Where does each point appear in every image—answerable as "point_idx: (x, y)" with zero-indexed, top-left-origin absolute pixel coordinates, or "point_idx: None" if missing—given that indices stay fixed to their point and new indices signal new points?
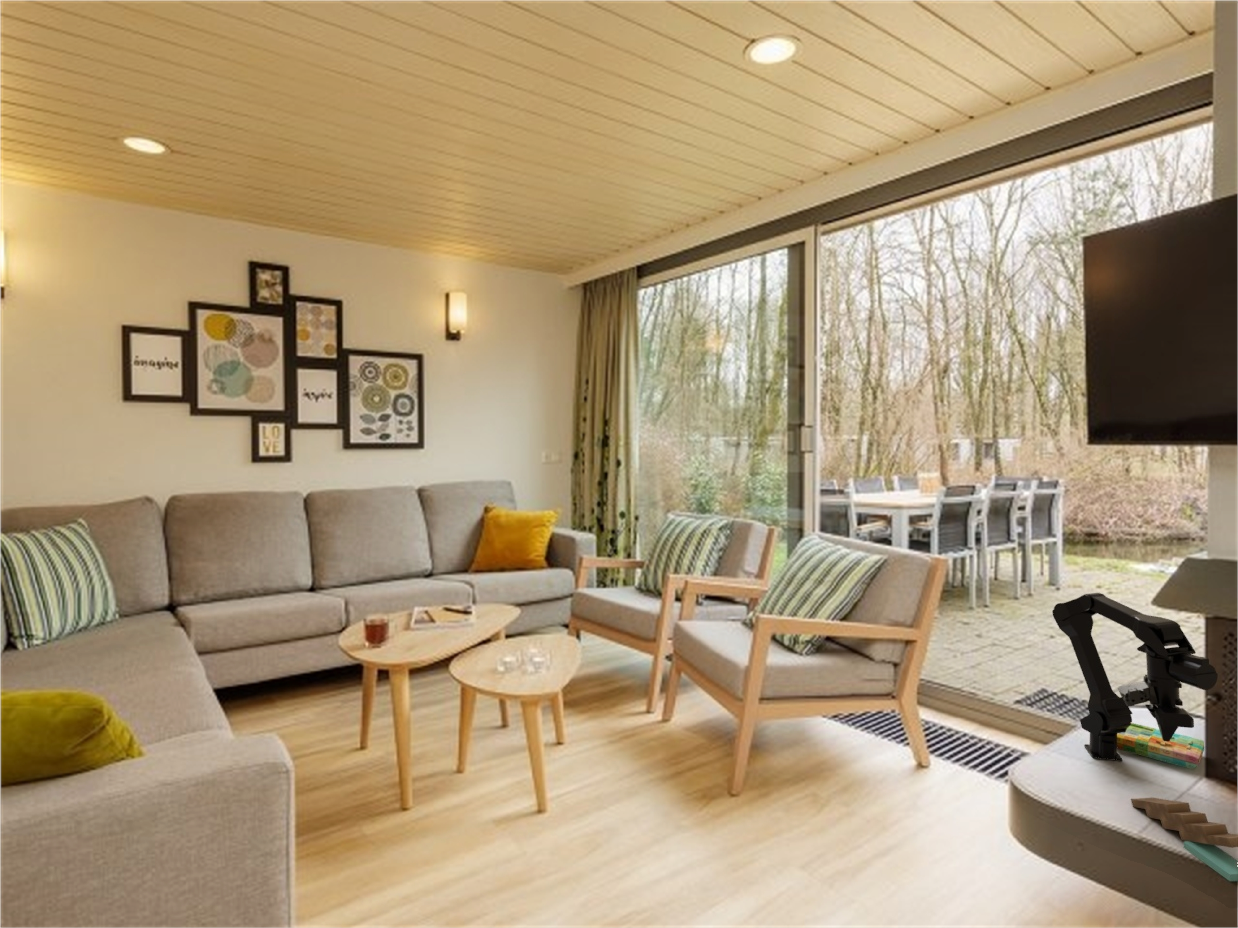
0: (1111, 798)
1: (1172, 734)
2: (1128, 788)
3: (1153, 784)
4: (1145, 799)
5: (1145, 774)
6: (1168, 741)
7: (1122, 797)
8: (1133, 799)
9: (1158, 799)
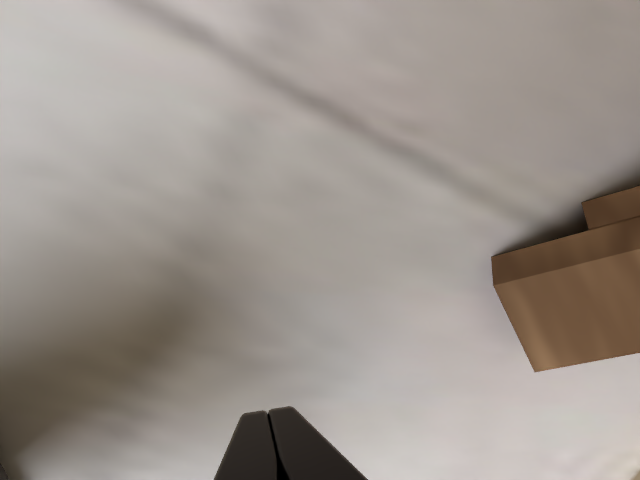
0: (475, 413)
1: (359, 478)
2: (340, 353)
3: (223, 235)
4: (575, 330)
5: (85, 264)
6: (291, 408)
7: (451, 377)
8: (553, 366)
9: (595, 284)
